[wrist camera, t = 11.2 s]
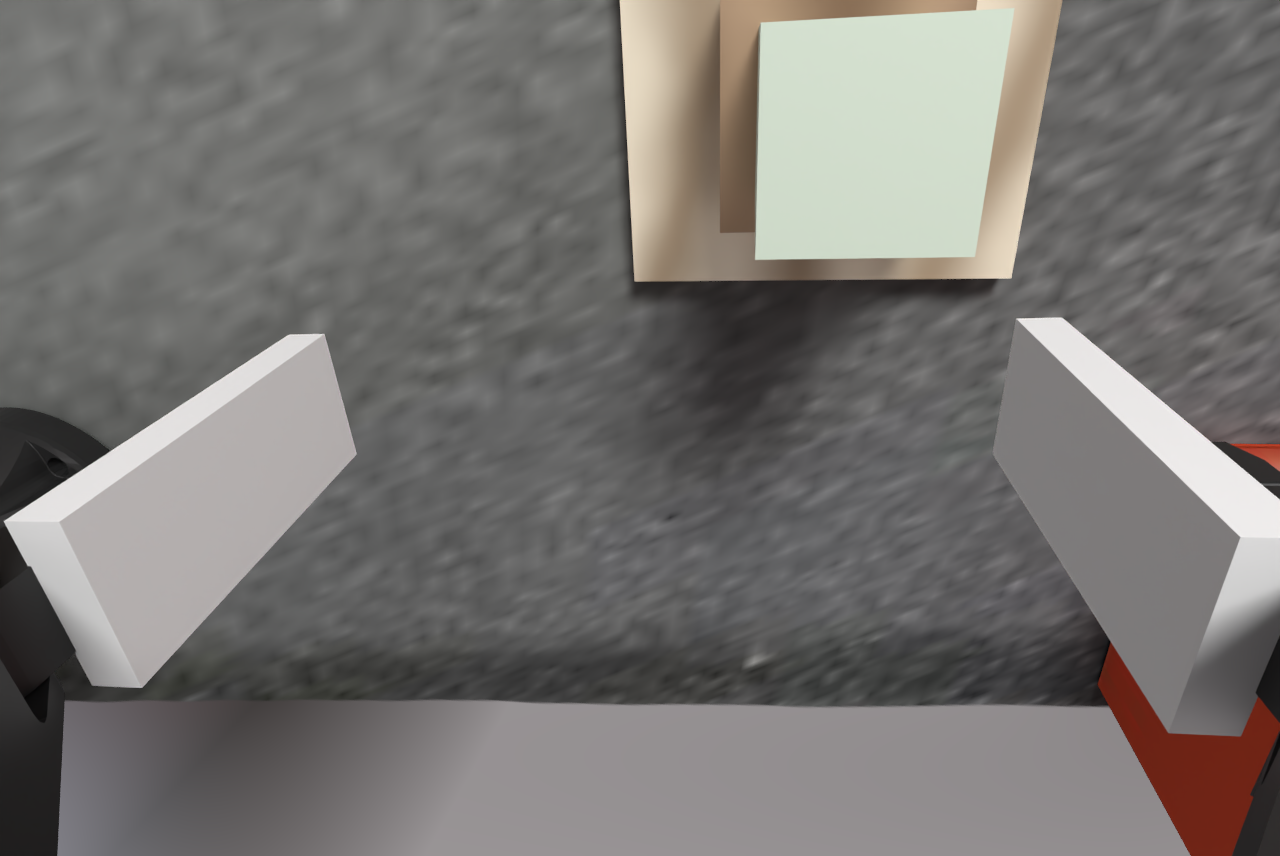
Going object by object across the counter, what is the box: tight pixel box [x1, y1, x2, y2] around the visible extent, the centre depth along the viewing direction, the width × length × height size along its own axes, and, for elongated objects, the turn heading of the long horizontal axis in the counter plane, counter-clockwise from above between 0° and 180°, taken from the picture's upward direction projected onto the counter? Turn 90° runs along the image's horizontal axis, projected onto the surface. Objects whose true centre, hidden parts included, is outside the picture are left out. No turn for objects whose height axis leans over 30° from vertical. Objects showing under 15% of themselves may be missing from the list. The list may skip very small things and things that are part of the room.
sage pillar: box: [755, 8, 1015, 260], centre depth 24 cm, size 6×6×10 cm
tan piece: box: [620, 0, 1062, 282], centre depth 31 cm, size 18×16×6 cm
